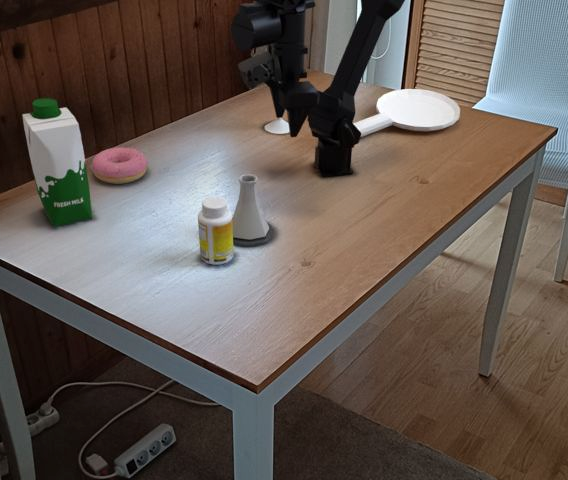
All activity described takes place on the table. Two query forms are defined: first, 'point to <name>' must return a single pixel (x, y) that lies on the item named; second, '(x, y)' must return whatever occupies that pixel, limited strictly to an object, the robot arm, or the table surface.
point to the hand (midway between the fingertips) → (286, 126)
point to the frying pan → (411, 112)
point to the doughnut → (119, 165)
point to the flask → (249, 211)
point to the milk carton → (58, 162)
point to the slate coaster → (255, 241)
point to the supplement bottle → (215, 231)
